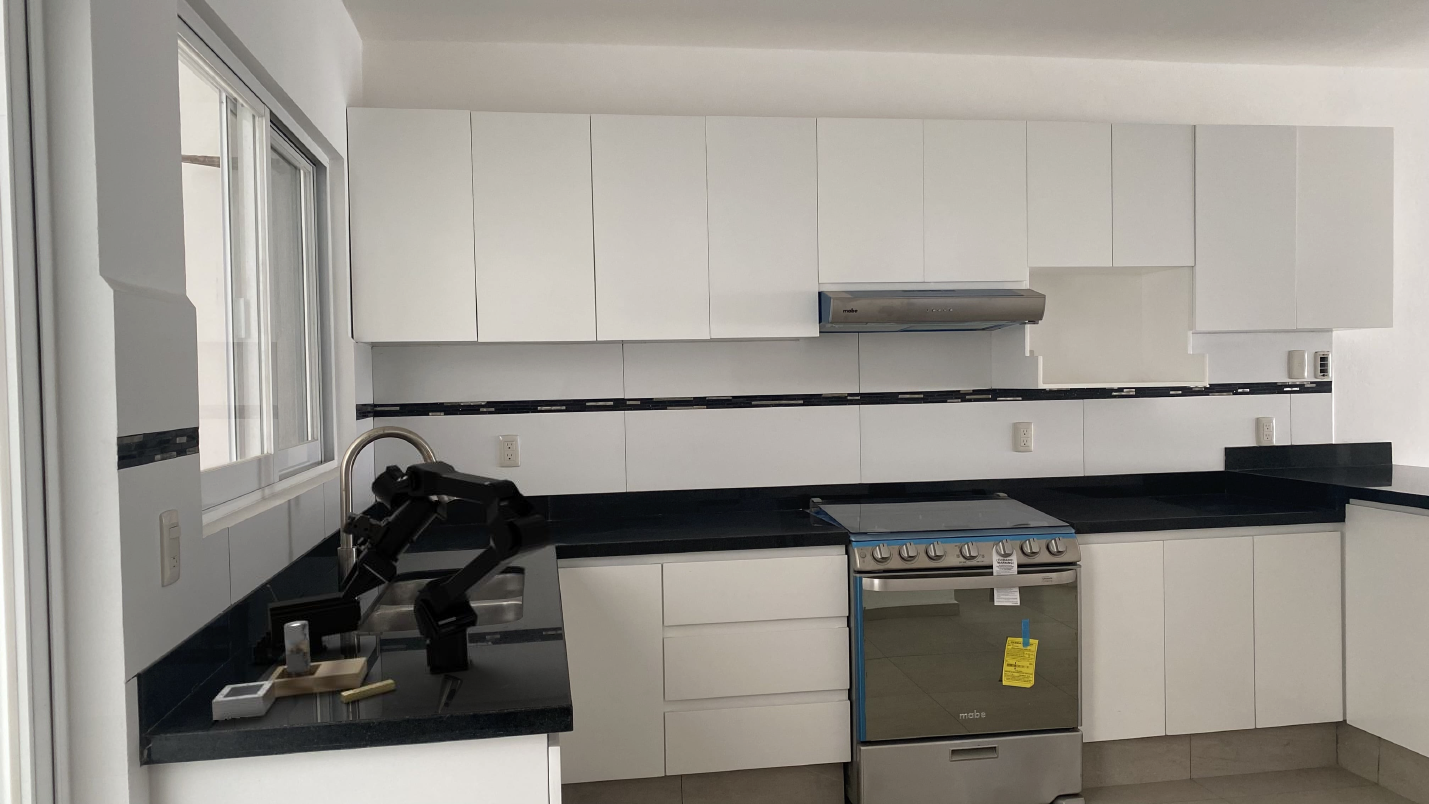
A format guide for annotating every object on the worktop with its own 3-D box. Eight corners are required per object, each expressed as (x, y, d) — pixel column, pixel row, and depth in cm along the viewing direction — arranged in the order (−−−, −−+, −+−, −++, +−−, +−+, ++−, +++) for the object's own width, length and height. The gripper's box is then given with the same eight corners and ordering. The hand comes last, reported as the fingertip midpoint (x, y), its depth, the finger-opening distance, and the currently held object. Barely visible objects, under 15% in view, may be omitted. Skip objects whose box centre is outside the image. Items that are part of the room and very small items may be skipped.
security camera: (251, 658, 166) (248, 604, 165) (358, 638, 175) (355, 588, 175) (254, 668, 160) (251, 612, 159) (364, 647, 169) (361, 595, 169)
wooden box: (367, 671, 155) (366, 657, 155) (359, 687, 148) (358, 672, 148) (279, 681, 152) (278, 666, 152) (267, 697, 145) (266, 682, 145)
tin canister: (315, 681, 151) (311, 620, 151) (306, 689, 148) (302, 626, 147) (293, 683, 151) (289, 621, 151) (284, 691, 148) (280, 627, 147)
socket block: (275, 698, 144) (274, 680, 144) (263, 715, 137) (262, 695, 137) (227, 704, 142) (226, 685, 142) (213, 721, 136) (212, 701, 136)
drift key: (390, 686, 147) (390, 679, 147) (394, 688, 146) (394, 681, 146) (341, 700, 142) (340, 693, 142) (344, 703, 141) (344, 695, 141)
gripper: (368, 489, 165) (306, 556, 161) (371, 502, 148) (301, 577, 144) (415, 527, 168) (355, 593, 164) (424, 544, 151) (357, 618, 147)
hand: (342, 594), depth 155 cm, fingers open, 9 cm apart
